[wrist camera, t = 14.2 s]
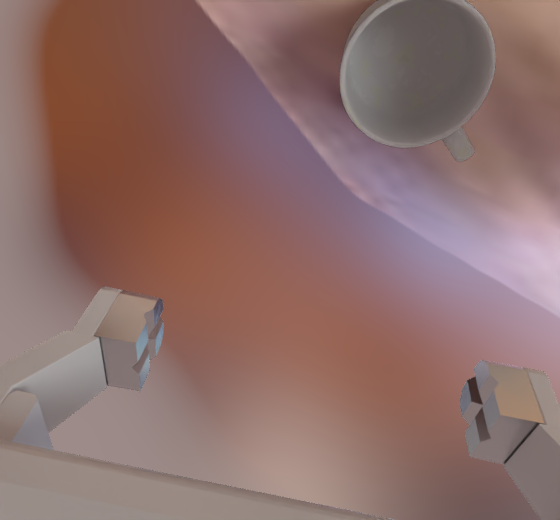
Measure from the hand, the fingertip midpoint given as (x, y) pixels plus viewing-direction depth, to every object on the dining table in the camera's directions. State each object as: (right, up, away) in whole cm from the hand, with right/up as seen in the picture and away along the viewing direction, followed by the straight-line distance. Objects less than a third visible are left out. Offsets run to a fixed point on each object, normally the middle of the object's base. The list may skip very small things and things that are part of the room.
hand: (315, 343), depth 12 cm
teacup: (+11, +19, +29) cm, 36 cm away
